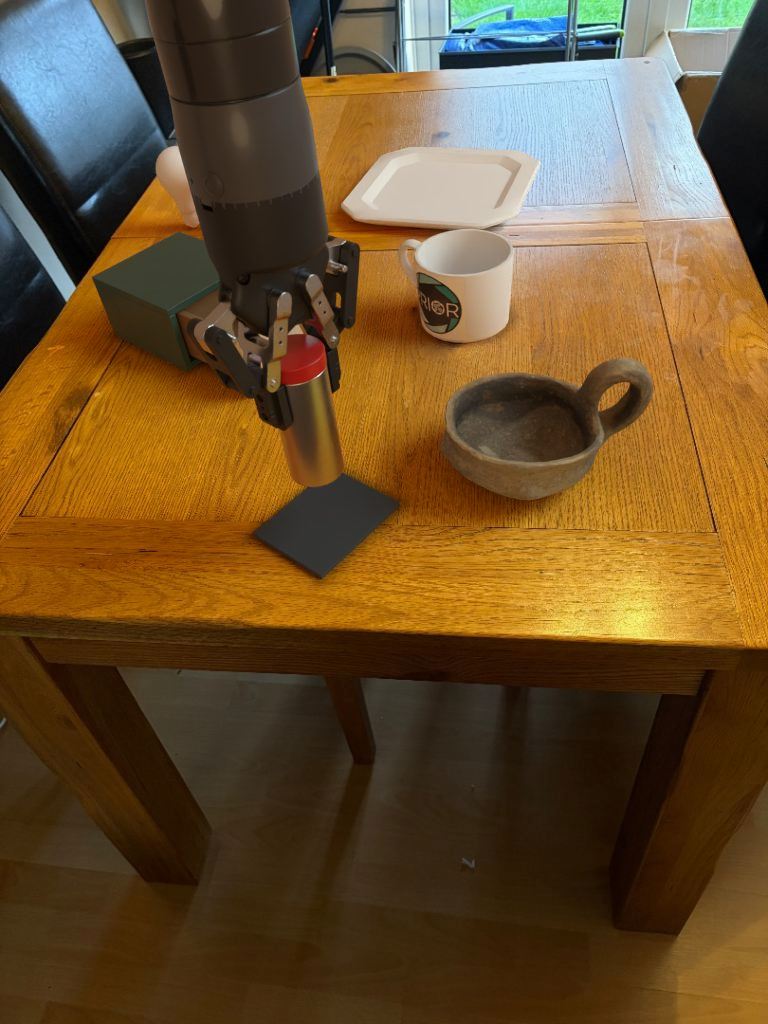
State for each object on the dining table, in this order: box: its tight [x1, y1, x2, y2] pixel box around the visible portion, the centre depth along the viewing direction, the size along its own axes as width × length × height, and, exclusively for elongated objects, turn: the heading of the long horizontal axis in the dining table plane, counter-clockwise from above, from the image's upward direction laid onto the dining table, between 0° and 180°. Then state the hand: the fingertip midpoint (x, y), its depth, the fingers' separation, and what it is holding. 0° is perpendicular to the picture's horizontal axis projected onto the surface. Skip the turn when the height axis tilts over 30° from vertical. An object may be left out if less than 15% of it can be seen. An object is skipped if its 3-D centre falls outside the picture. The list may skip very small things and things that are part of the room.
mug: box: [397, 229, 515, 344], centre depth 81 cm, size 13×10×8 cm
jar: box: [261, 334, 345, 488], centre depth 55 cm, size 4×4×11 cm
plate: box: [340, 146, 542, 231], centre depth 106 cm, size 25×25×2 cm
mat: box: [252, 471, 401, 580], centre depth 63 cm, size 10×8×1 cm
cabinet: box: [91, 230, 219, 372], centre depth 85 cm, size 14×13×8 cm
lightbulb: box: [155, 145, 200, 229], centre depth 103 cm, size 6×6×11 cm
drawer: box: [175, 288, 303, 368], centre depth 79 cm, size 14×11×6 cm
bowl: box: [439, 357, 654, 501], centre depth 62 cm, size 14×18×10 cm
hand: (303, 405), depth 55 cm, fingers closed on jar, 4 cm apart
